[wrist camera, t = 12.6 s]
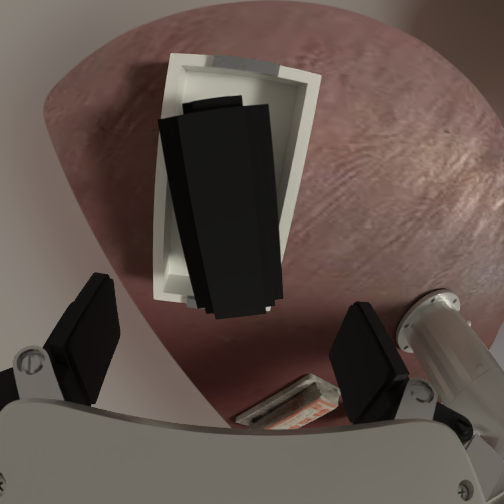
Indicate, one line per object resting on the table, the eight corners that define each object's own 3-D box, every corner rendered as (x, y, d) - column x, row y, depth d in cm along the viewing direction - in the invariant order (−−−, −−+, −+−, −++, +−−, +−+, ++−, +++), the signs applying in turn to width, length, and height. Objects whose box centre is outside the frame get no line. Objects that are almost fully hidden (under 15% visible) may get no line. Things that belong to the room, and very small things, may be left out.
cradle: (307, 79, 23) (323, 74, 19) (264, 286, 34) (270, 314, 29) (180, 61, 22) (169, 51, 17) (161, 275, 32) (152, 302, 28)
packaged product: (315, 393, 39) (349, 408, 42) (309, 369, 43) (342, 387, 47) (235, 436, 44) (273, 447, 48) (234, 415, 48) (271, 428, 52)
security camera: (209, 282, 32) (204, 348, 23) (178, 107, 23) (149, 108, 14) (272, 274, 32) (287, 338, 23) (255, 97, 23) (270, 90, 14)
